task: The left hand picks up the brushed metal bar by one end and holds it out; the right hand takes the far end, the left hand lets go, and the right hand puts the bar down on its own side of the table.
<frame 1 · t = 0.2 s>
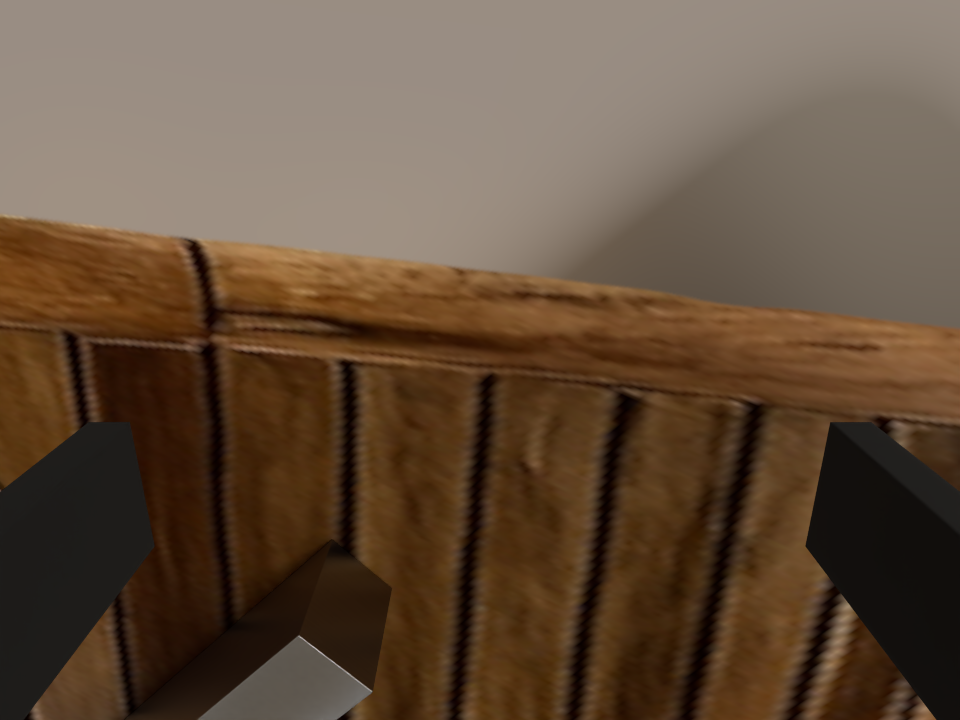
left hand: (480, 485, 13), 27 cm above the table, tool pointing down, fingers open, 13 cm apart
bar: (250, 658, 49), on the table
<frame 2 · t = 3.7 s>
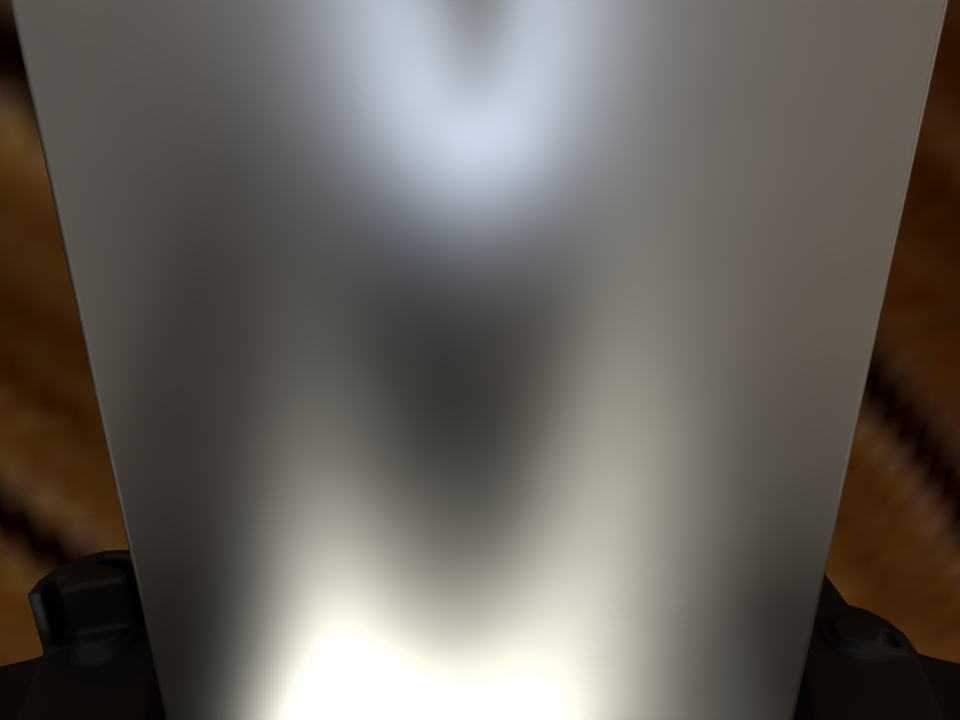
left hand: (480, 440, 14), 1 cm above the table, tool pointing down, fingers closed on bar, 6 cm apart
bar: (479, 15, 12), on the table, touching left hand
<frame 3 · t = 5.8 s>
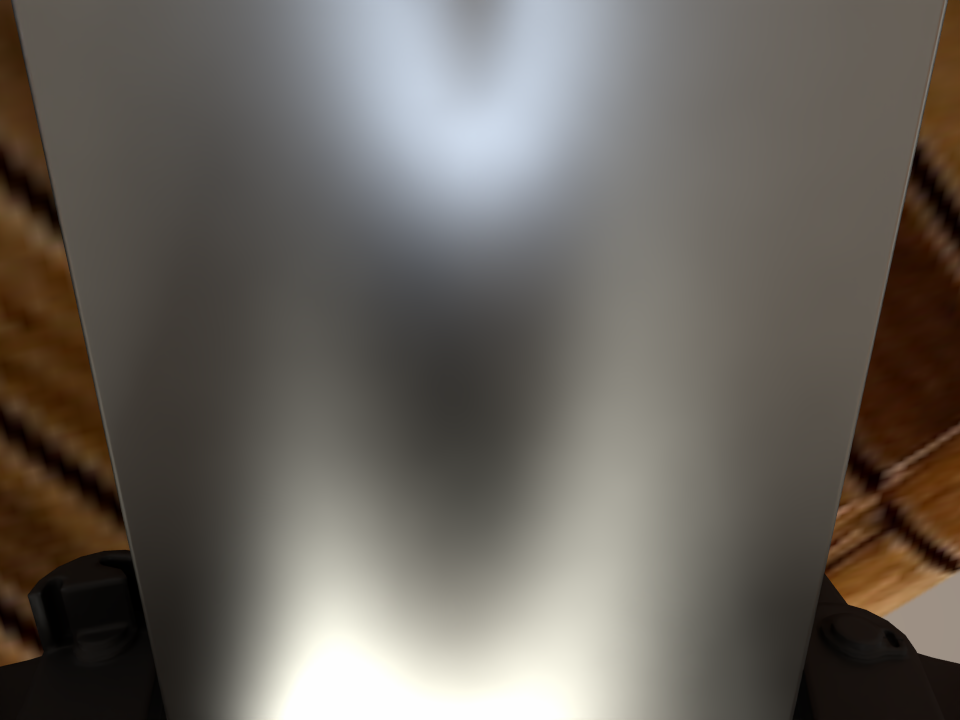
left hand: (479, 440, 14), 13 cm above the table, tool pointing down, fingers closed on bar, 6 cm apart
bar: (479, 15, 12), point 12 cm above the table, touching left hand
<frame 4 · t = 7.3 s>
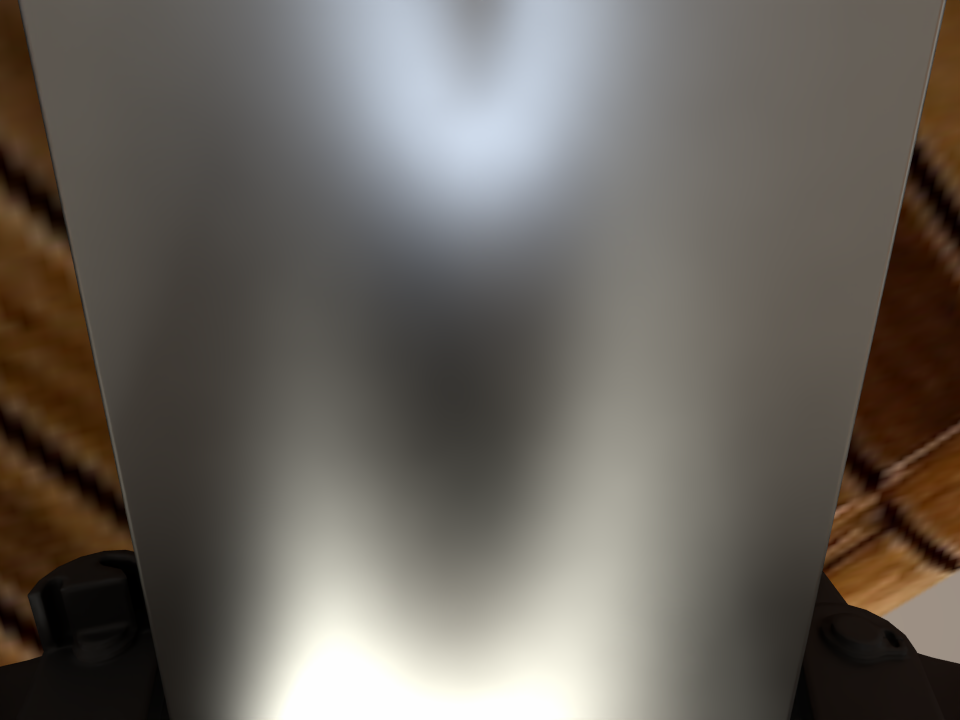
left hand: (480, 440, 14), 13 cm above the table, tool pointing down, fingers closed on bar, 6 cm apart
bar: (481, 16, 12), point 12 cm above the table, touching left hand, right hand
when the left hand's fingers open (13 cm above the table, at t = 8.1 s): bar stays where it is, held by the right hand.
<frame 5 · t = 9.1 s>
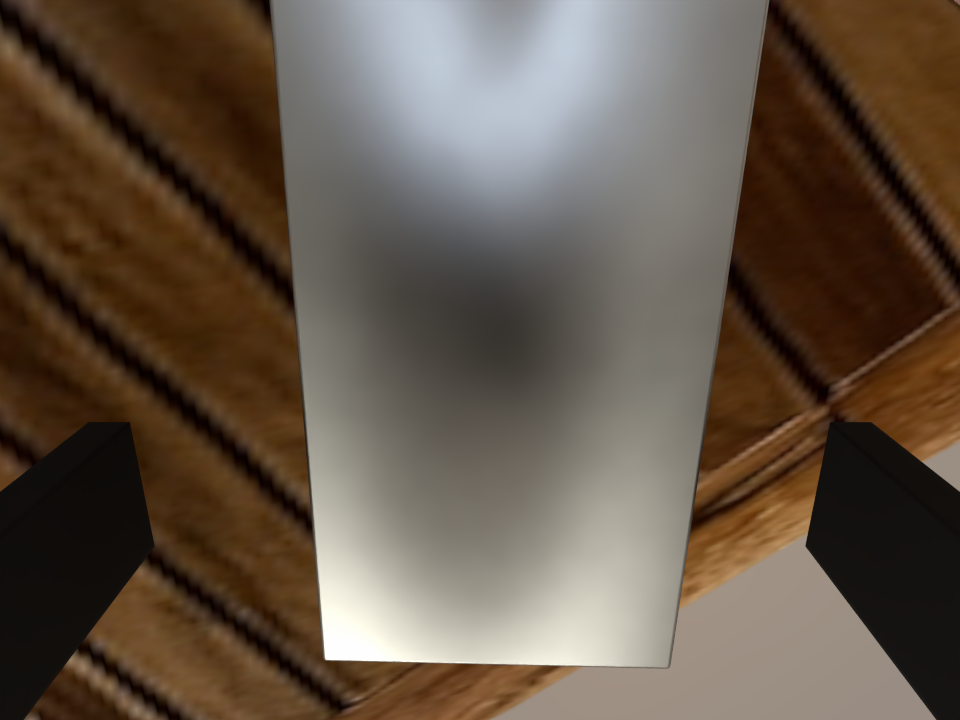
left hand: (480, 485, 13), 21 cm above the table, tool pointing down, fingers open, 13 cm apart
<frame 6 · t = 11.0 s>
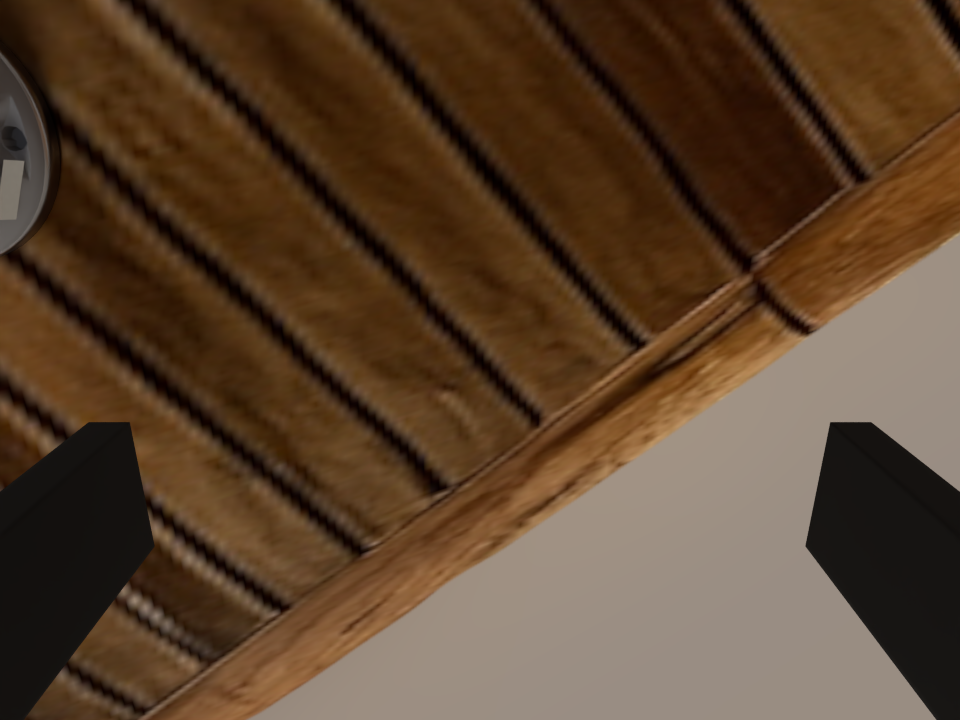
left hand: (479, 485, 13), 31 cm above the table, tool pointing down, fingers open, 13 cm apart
when the right hand's fingers open (5 cm above the table, at t = 14.8 s): bar drops 2 cm, on the table.
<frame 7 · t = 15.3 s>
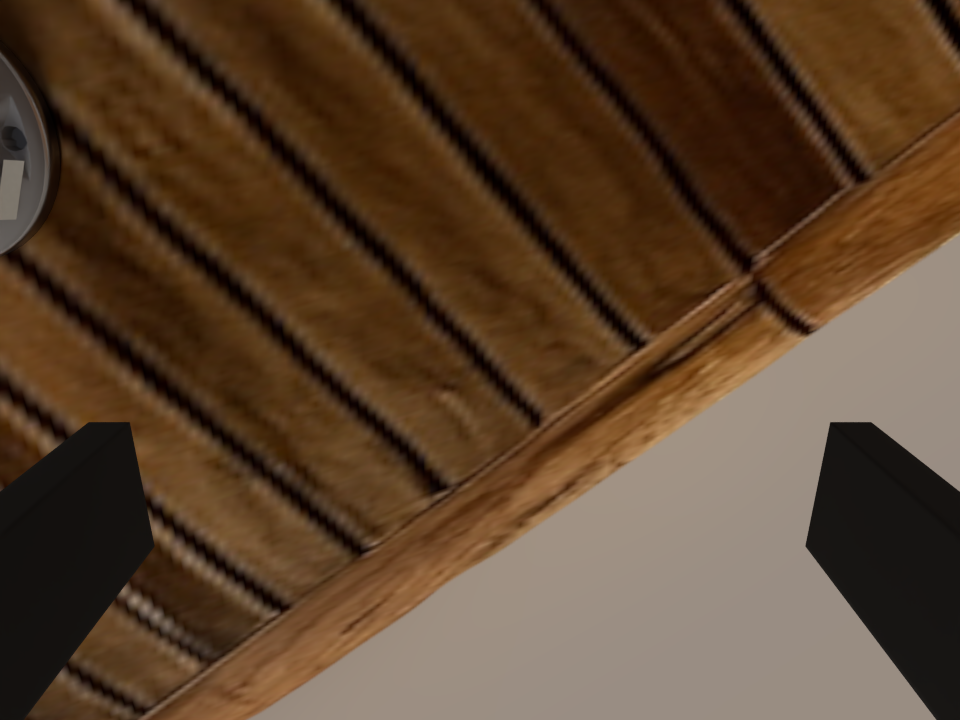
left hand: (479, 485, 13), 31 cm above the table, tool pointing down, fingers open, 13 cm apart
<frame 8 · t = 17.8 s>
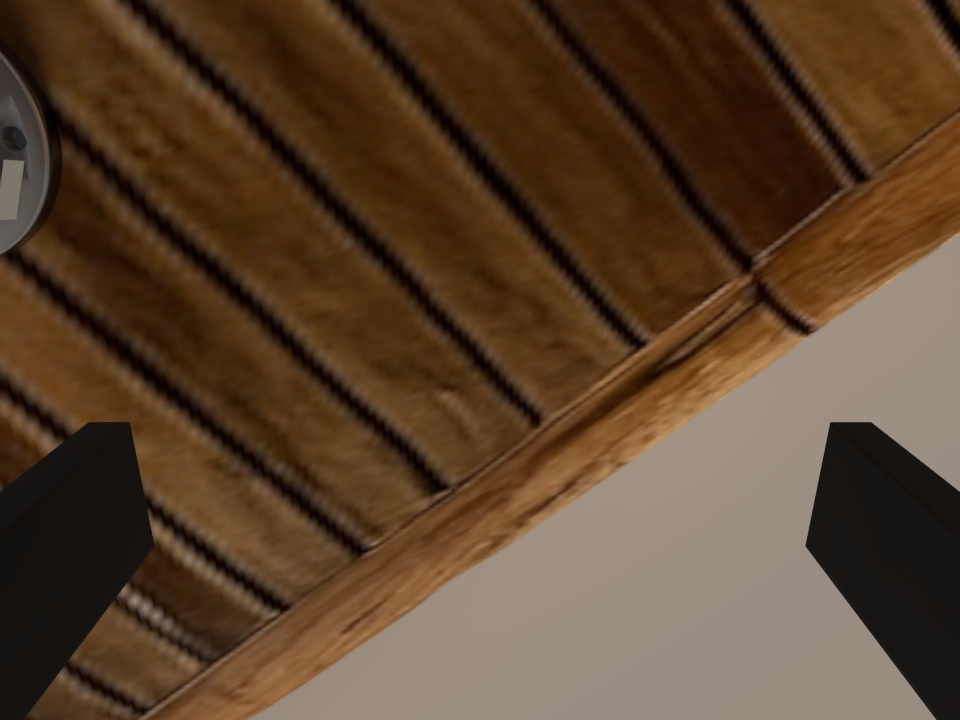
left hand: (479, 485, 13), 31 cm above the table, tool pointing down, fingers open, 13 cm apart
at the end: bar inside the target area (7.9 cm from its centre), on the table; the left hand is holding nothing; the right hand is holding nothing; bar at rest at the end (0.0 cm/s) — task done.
